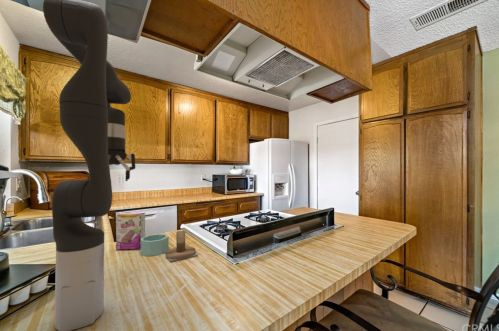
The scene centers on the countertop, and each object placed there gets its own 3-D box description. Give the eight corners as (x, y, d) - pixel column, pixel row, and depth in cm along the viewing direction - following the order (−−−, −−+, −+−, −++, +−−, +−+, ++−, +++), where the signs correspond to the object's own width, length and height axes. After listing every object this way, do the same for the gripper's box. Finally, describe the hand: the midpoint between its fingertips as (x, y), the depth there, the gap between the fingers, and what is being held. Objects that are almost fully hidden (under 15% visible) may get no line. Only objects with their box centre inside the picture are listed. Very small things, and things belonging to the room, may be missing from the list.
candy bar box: (115, 250, 96) (115, 214, 96) (121, 246, 101) (121, 212, 101) (140, 250, 96) (140, 213, 96) (145, 246, 101) (145, 211, 101)
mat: (197, 256, 88) (197, 254, 88) (169, 262, 82) (169, 260, 82) (190, 248, 97) (190, 247, 97) (165, 253, 91) (165, 252, 91)
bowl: (169, 252, 92) (169, 238, 93) (141, 258, 87) (141, 243, 87) (165, 245, 102) (165, 232, 102) (139, 249, 96) (140, 236, 96)
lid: (199, 255, 88) (199, 233, 88) (168, 261, 81) (168, 238, 82) (191, 246, 98) (191, 227, 98) (163, 251, 92) (163, 231, 92)
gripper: (88, 134, 72) (87, 182, 71) (135, 137, 79) (135, 180, 78) (91, 137, 78) (90, 181, 77) (135, 140, 85) (135, 180, 84)
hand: (113, 181), depth 78 cm, fingers open, 8 cm apart
